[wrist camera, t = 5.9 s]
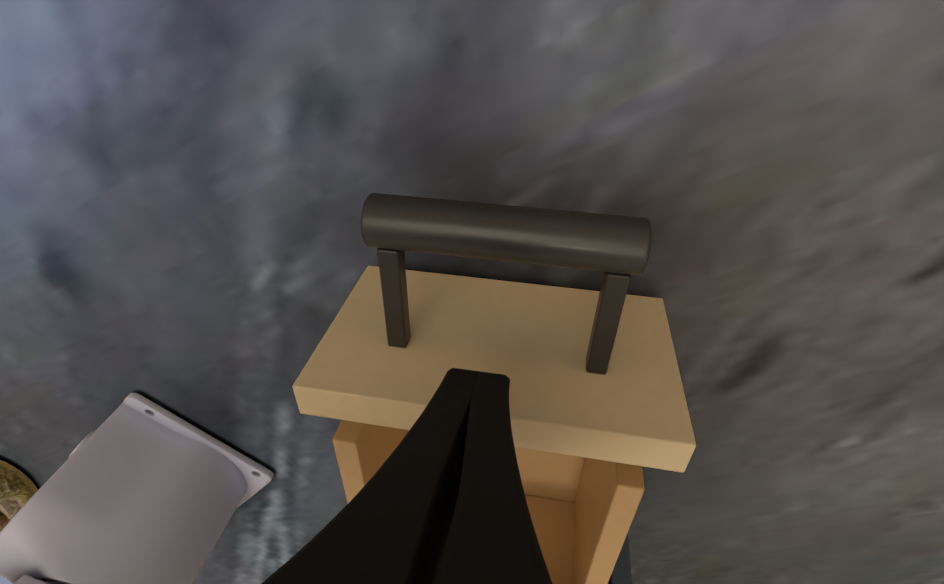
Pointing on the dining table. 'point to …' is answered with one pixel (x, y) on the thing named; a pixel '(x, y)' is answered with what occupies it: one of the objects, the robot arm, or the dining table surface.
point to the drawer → (513, 362)
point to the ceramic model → (13, 492)
